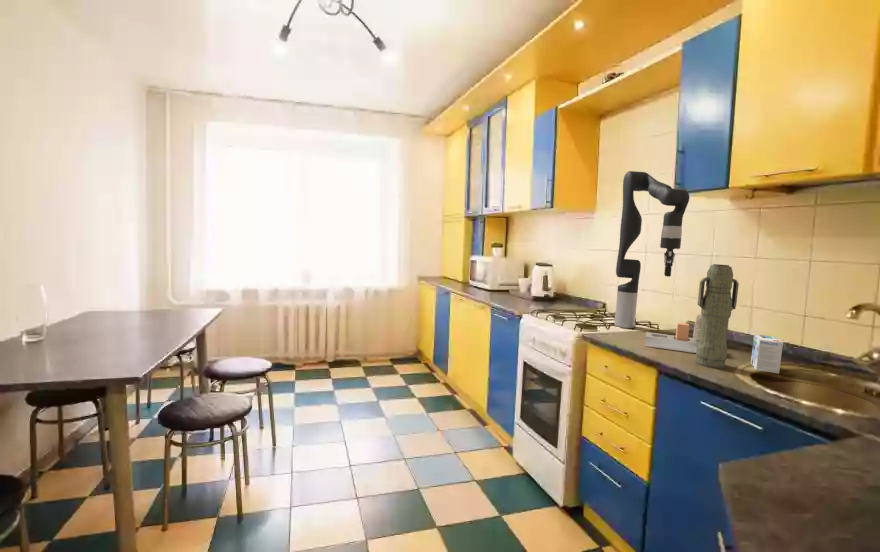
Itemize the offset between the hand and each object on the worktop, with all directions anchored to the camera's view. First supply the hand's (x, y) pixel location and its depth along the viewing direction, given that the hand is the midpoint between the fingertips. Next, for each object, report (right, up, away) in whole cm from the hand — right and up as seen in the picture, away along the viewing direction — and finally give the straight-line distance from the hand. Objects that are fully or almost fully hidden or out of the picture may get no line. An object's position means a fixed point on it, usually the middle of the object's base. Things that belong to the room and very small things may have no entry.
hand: (667, 275), depth 186 cm
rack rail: (0, -29, -9) cm, 31 cm away
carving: (+16, -29, +3) cm, 33 cm away
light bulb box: (+17, -32, -33) cm, 49 cm away
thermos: (-2, -31, -32) cm, 45 cm away
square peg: (0, -29, -9) cm, 31 cm away
